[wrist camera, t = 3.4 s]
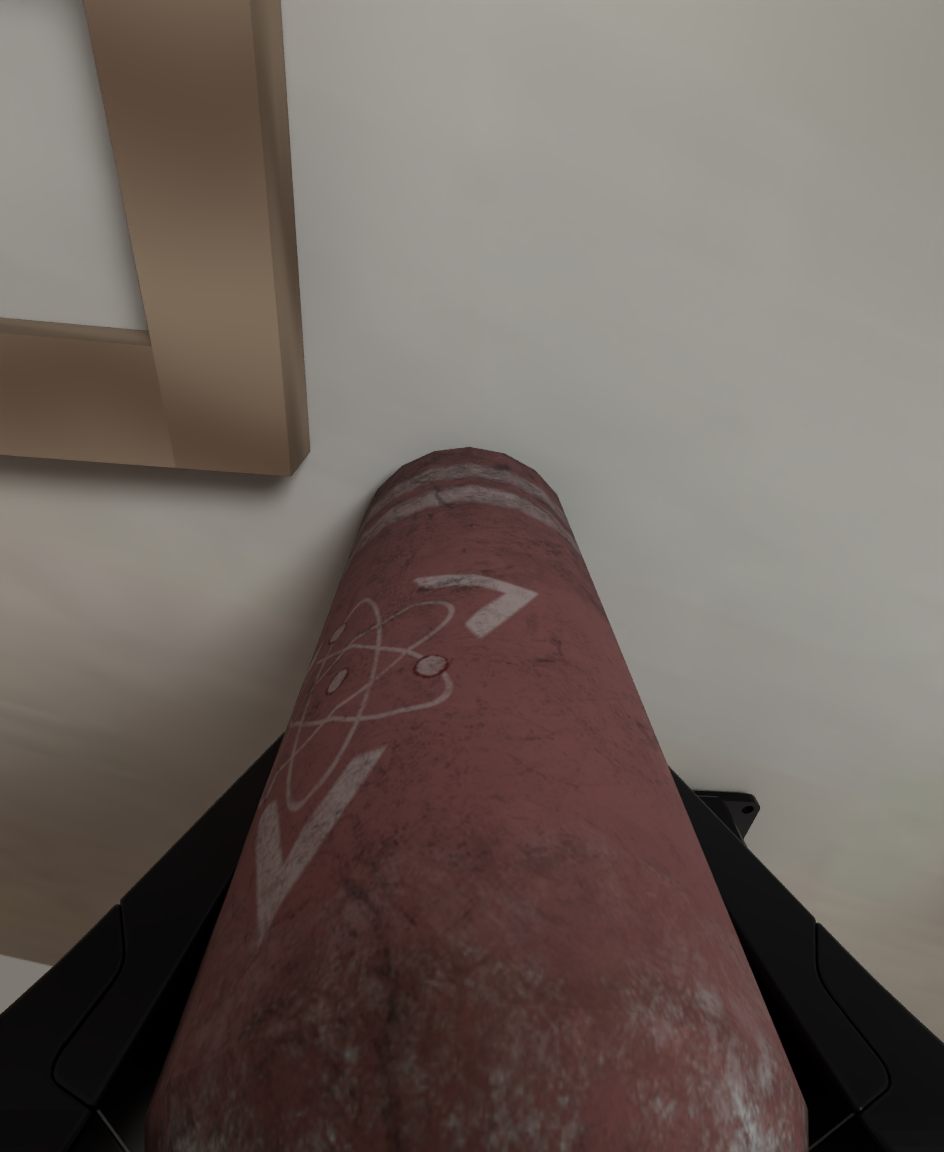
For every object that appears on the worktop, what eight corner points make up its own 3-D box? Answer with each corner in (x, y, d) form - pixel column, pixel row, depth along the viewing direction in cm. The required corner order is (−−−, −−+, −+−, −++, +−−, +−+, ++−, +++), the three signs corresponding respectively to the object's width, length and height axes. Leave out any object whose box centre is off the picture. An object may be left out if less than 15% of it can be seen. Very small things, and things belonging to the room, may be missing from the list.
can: (353, 612, 18) (125, 1378, 6) (378, 420, 15) (-17, 1226, 2) (532, 642, 18) (670, 1371, 6) (593, 465, 15) (1090, 1249, 3)
